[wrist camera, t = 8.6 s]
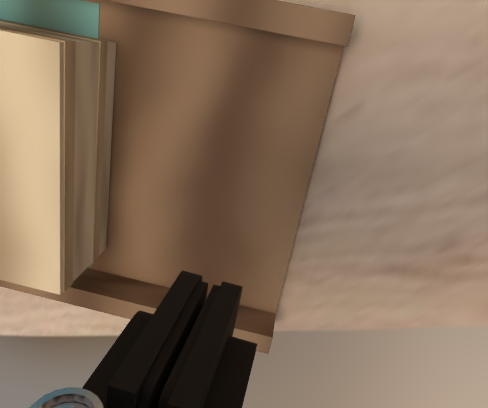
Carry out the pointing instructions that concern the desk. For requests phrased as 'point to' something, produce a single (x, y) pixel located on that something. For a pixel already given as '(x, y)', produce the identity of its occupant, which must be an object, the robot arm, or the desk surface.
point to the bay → (203, 144)
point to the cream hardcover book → (53, 153)
